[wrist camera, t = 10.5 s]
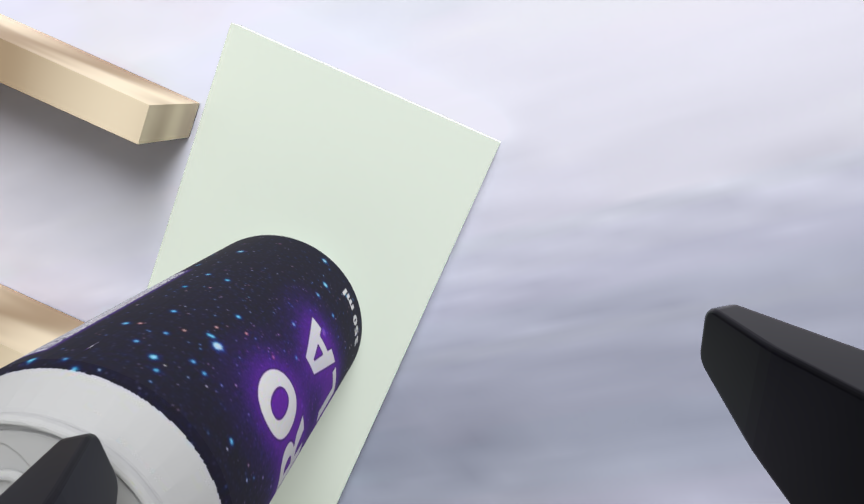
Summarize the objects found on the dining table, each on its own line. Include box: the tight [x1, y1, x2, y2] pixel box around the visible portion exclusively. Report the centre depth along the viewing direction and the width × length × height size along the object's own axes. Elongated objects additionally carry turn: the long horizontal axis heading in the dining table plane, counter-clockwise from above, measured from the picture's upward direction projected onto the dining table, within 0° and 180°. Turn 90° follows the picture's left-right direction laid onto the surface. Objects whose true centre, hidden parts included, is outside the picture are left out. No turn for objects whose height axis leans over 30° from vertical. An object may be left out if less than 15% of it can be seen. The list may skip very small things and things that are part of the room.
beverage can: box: [0, 235, 362, 504], centre depth 16 cm, size 6×6×12 cm
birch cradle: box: [0, 14, 199, 368], centre depth 21 cm, size 9×10×3 cm
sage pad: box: [147, 23, 501, 504], centre depth 22 cm, size 9×16×1 cm, turn 157°
